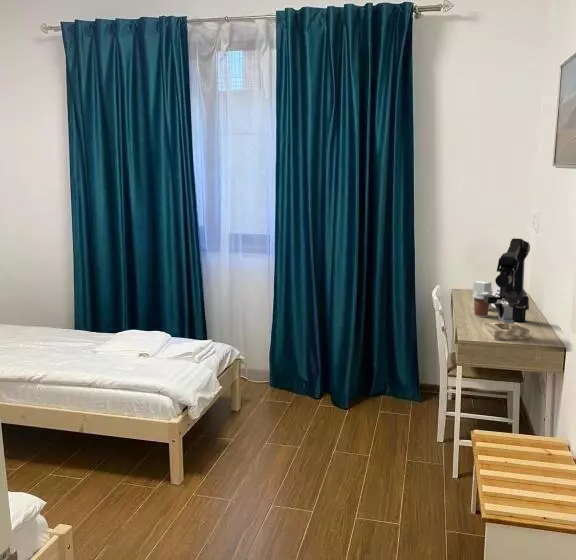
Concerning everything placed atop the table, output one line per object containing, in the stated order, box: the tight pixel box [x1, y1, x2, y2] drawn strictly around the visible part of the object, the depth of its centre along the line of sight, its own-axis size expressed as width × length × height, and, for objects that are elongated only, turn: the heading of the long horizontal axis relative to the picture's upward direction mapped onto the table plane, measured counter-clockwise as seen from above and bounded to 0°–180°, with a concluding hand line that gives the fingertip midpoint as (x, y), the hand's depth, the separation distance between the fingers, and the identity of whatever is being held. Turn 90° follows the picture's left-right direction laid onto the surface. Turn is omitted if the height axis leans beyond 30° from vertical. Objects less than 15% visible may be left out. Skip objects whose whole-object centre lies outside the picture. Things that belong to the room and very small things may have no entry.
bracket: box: [497, 303, 514, 324], centre depth 275 cm, size 4×8×7 cm, turn 4°
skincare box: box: [472, 280, 492, 311], centre depth 327 cm, size 8×6×15 cm
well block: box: [481, 322, 531, 341], centre depth 276 cm, size 16×14×4 cm
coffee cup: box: [472, 292, 489, 318], centre depth 312 cm, size 9×9×12 cm
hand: (505, 317), depth 276 cm, fingers closed on bracket, 4 cm apart
